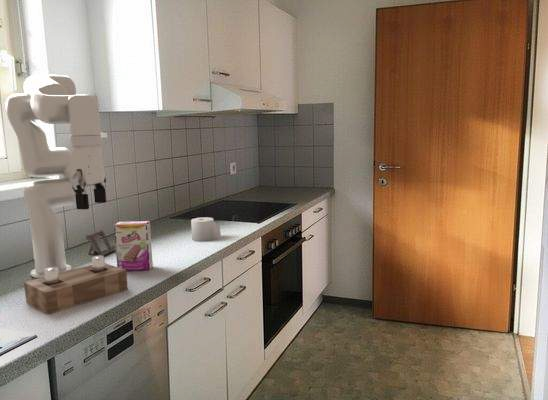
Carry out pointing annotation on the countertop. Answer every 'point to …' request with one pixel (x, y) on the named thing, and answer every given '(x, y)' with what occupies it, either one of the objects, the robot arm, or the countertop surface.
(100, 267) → the back peg
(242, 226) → the countertop surface
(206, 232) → the toilet tissue
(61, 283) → the walnut block
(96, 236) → the portable electronic device stand
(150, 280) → the countertop surface
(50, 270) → the front peg
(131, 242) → the candy bar box
